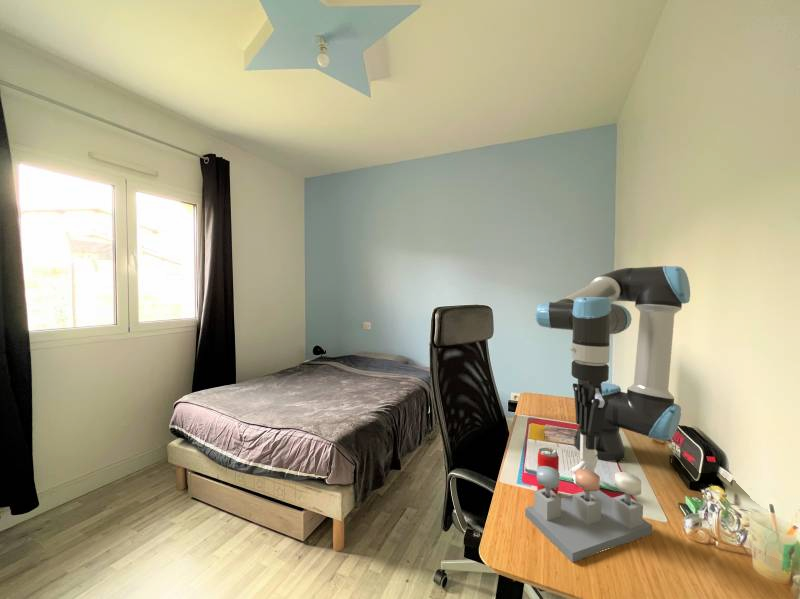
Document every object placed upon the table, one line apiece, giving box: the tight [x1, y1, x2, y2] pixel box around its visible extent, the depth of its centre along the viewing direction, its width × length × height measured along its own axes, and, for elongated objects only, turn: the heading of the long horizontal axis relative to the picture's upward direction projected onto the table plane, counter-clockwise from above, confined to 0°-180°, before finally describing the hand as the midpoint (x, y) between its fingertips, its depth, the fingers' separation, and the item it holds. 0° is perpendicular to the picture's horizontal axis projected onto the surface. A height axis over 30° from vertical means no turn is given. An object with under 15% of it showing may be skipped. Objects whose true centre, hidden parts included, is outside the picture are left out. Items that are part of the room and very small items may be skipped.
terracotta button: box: [574, 469, 601, 502], centre depth 74 cm, size 5×5×7 cm
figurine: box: [570, 450, 599, 488], centre depth 90 cm, size 8×8×12 cm
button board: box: [524, 488, 653, 563], centre depth 75 cm, size 24×14×6 cm, turn 108°
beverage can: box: [536, 447, 560, 496], centre depth 85 cm, size 5×5×12 cm
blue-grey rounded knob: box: [536, 466, 560, 498], centre depth 76 cm, size 5×5×7 cm
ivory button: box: [614, 471, 642, 506], centre depth 73 cm, size 5×5×7 cm
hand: (587, 459), depth 74 cm, fingers closed
